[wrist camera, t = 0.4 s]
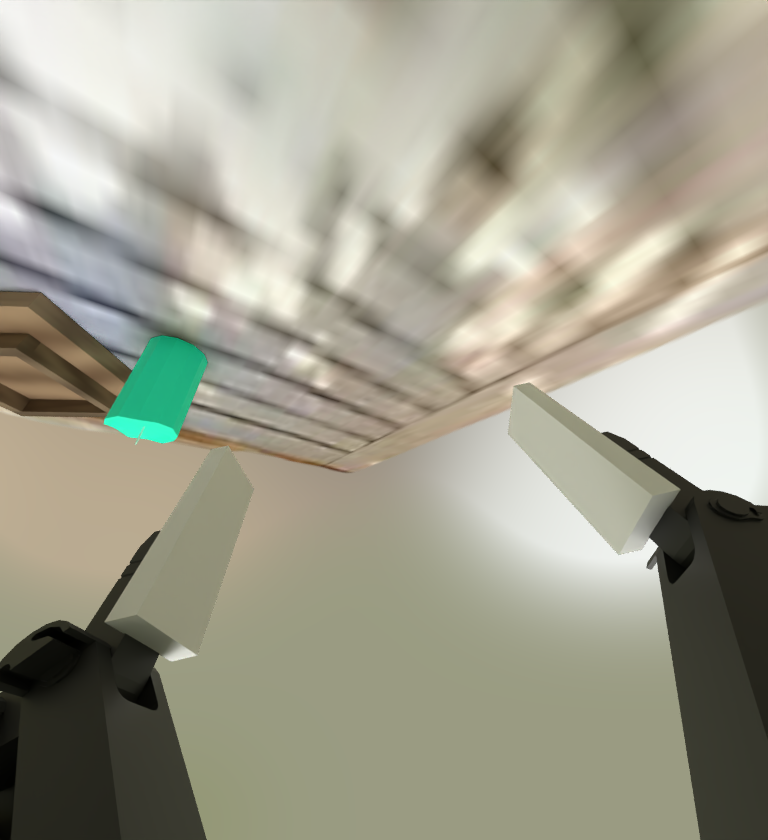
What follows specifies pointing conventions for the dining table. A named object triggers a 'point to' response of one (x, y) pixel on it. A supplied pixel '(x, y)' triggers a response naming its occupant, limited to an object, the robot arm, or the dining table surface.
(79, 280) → the dining table surface
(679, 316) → the dining table surface
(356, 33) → the dining table surface
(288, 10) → the dining table surface
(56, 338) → the brown square tray
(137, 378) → the candle
